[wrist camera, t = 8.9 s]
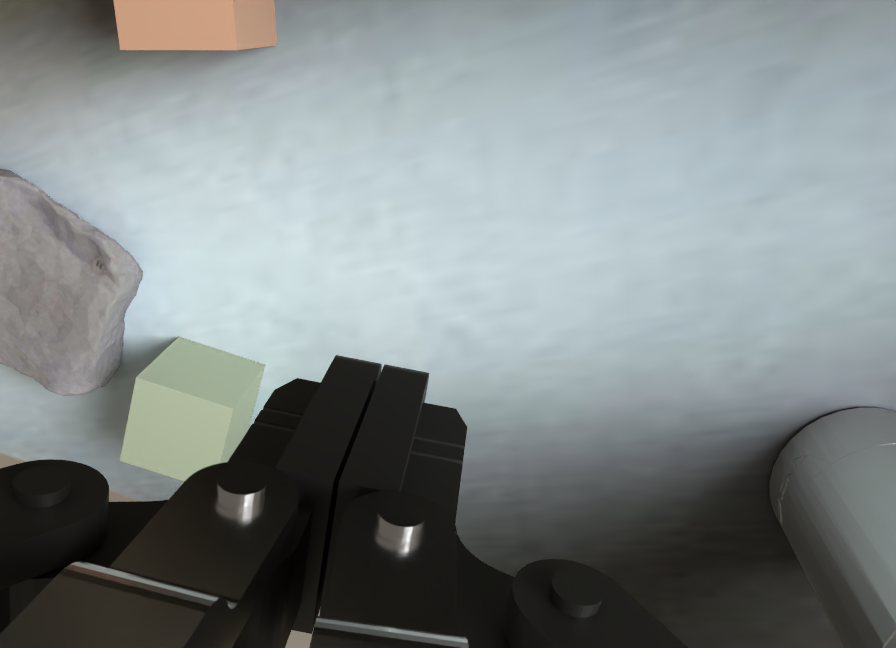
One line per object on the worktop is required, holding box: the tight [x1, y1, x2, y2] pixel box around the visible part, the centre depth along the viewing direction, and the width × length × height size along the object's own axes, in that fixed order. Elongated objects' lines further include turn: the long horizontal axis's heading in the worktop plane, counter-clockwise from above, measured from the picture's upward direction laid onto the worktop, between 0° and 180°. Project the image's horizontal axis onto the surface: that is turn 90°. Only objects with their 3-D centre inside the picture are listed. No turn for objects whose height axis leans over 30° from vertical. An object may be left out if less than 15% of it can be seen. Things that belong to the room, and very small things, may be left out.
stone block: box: [0, 170, 143, 396], centre depth 43 cm, size 12×5×10 cm
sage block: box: [120, 337, 265, 482], centre depth 43 cm, size 5×5×6 cm
